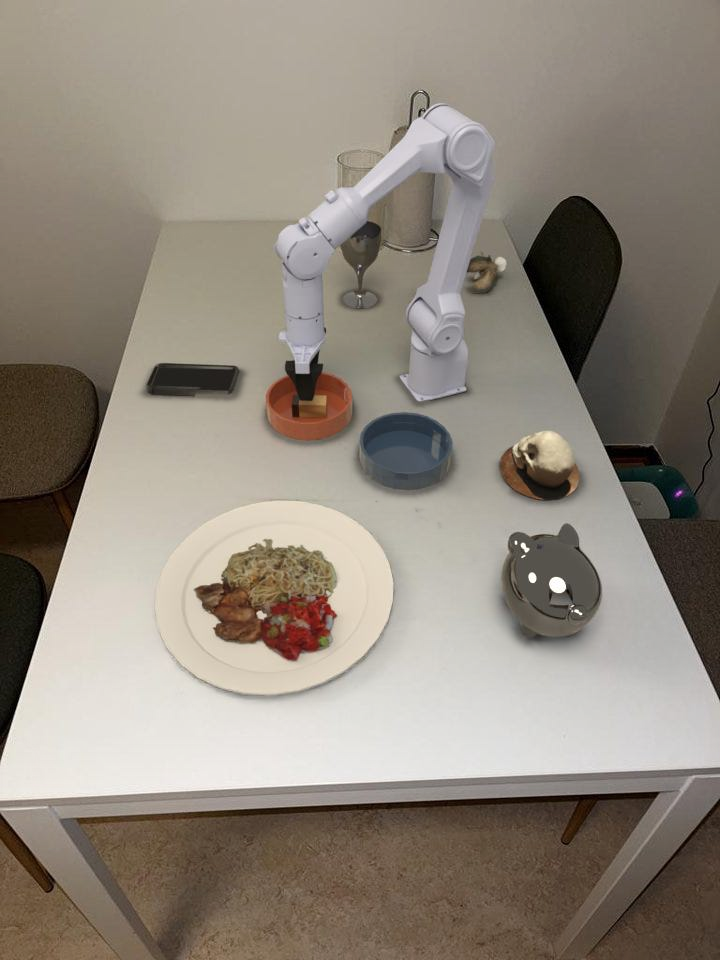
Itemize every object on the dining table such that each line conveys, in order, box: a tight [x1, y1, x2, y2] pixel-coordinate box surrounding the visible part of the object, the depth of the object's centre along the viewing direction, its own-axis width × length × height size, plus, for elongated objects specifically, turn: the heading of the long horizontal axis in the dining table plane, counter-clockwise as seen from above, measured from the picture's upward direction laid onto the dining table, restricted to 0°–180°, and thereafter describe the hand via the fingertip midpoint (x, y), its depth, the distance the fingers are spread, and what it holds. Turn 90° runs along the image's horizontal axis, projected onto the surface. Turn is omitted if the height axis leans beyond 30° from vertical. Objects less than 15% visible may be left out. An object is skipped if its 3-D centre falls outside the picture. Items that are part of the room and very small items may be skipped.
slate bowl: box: [358, 411, 454, 491], centre depth 106 cm, size 14×14×4 cm
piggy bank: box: [500, 523, 603, 639], centre depth 83 cm, size 11×15×12 cm
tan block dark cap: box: [292, 395, 327, 417], centre depth 113 cm, size 6×3×3 cm, turn 89°
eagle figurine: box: [466, 250, 507, 294], centre depth 145 cm, size 8×7×9 cm
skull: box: [499, 430, 581, 501], centre depth 104 cm, size 12×10×10 cm
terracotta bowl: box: [265, 371, 353, 441], centre depth 113 cm, size 14×14×4 cm
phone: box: [145, 362, 240, 397], centre depth 121 cm, size 8×1×15 cm
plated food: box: [154, 499, 394, 697], centre depth 87 cm, size 30×30×3 cm
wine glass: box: [340, 220, 382, 310], centre depth 137 cm, size 8×8×15 cm
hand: (308, 384), depth 110 cm, fingers open, 7 cm apart
